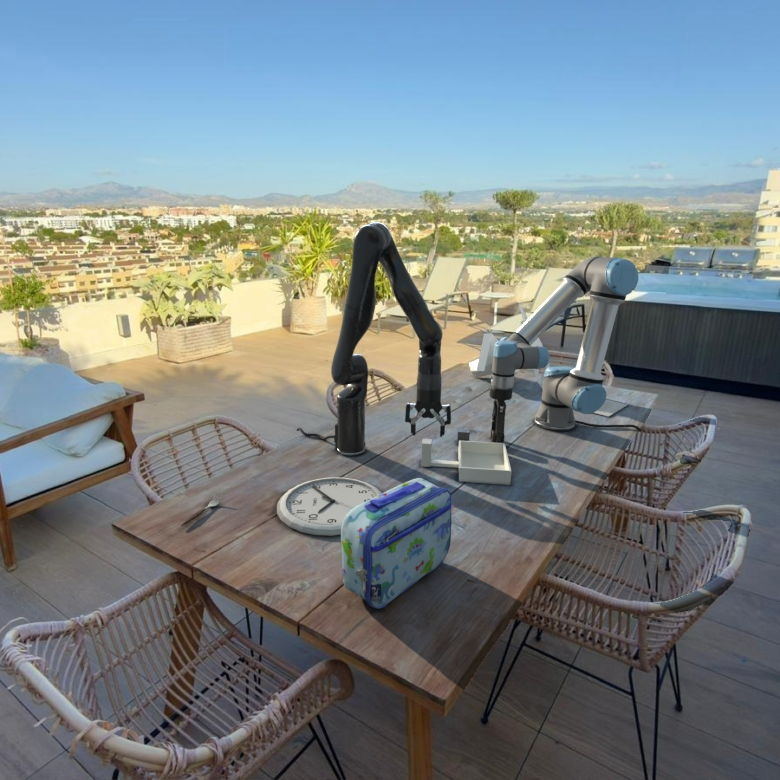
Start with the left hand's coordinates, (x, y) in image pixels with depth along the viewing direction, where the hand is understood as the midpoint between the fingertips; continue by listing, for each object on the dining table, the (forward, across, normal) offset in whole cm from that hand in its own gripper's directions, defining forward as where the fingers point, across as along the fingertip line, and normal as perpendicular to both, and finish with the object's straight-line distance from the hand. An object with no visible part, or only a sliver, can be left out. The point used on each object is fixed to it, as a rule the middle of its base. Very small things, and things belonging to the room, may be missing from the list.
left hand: (427, 435), depth 165 cm
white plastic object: (+9, -33, -100) cm, 105 cm away
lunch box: (+11, +2, +58) cm, 59 cm away
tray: (+10, -12, -1) cm, 16 cm away
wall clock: (+10, +24, +30) cm, 39 cm away
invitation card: (+10, -70, -71) cm, 101 cm away
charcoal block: (+10, -11, -20) cm, 25 cm away
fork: (+10, +56, +39) cm, 70 cm away
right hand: (+10, -23, -20) cm, 32 cm away
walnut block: (+10, -23, -20) cm, 33 cm away
